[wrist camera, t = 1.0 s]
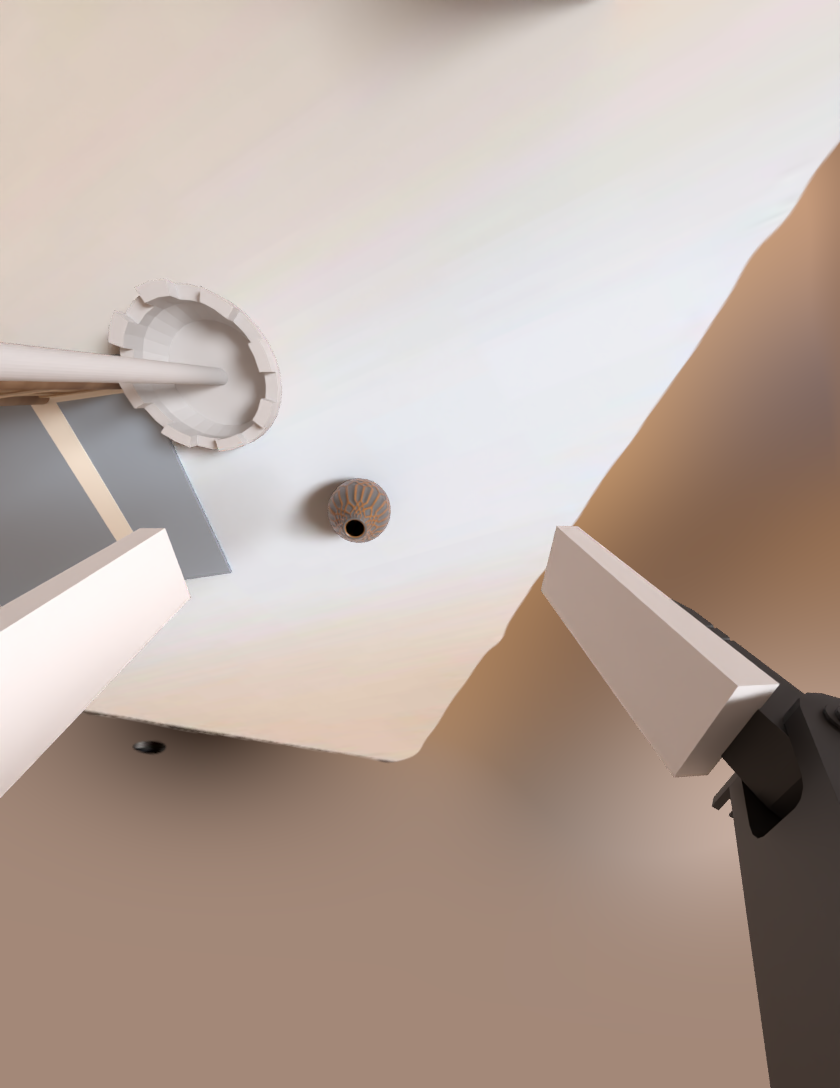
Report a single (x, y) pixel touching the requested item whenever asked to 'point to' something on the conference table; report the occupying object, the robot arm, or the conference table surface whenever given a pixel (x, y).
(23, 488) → the board
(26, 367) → the flag stand
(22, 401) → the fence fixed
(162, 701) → the conference table surface
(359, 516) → the vase
